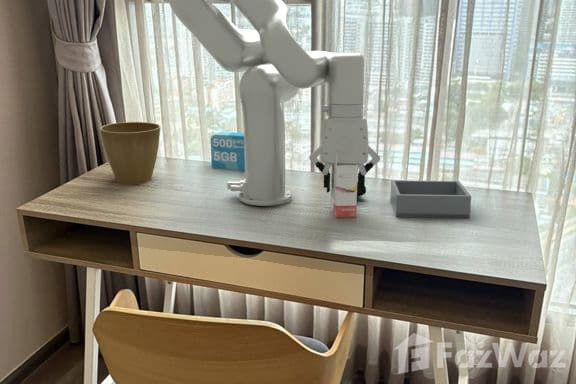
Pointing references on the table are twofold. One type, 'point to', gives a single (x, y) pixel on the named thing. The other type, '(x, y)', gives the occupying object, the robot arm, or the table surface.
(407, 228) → the table surface
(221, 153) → the data package
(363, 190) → the tape measure
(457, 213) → the tote
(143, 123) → the plant pot
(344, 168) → the ink cartridge box
